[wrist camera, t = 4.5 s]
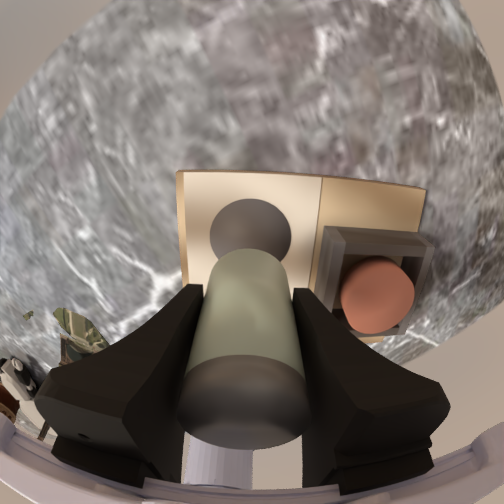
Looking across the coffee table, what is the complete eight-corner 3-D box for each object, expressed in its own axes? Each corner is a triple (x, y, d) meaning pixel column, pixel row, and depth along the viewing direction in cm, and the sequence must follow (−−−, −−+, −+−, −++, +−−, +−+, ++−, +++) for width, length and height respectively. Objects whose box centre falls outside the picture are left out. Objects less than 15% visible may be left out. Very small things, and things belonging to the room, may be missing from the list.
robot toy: (-4, 351, 28) (51, 418, 33) (-19, 368, 24) (41, 435, 29) (27, 344, 26) (93, 422, 31) (9, 365, 22) (82, 444, 27)
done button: (391, 314, 18) (401, 331, 17) (332, 315, 18) (339, 335, 17) (409, 256, 16) (423, 271, 15) (345, 254, 16) (355, 270, 15)
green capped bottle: (283, 316, 13) (299, 449, 7) (210, 313, 13) (186, 445, 7) (291, 250, 12) (324, 385, 6) (207, 246, 12) (164, 380, 6)
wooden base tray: (379, 336, 22) (391, 362, 19) (191, 334, 22) (183, 364, 19) (420, 187, 17) (446, 201, 14) (179, 170, 17) (163, 180, 14)
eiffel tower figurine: (162, 393, 27) (135, 501, 15) (104, 401, 29) (72, 486, 17) (70, 285, 21) (-15, 395, 9) (23, 313, 23) (-39, 395, 11)
